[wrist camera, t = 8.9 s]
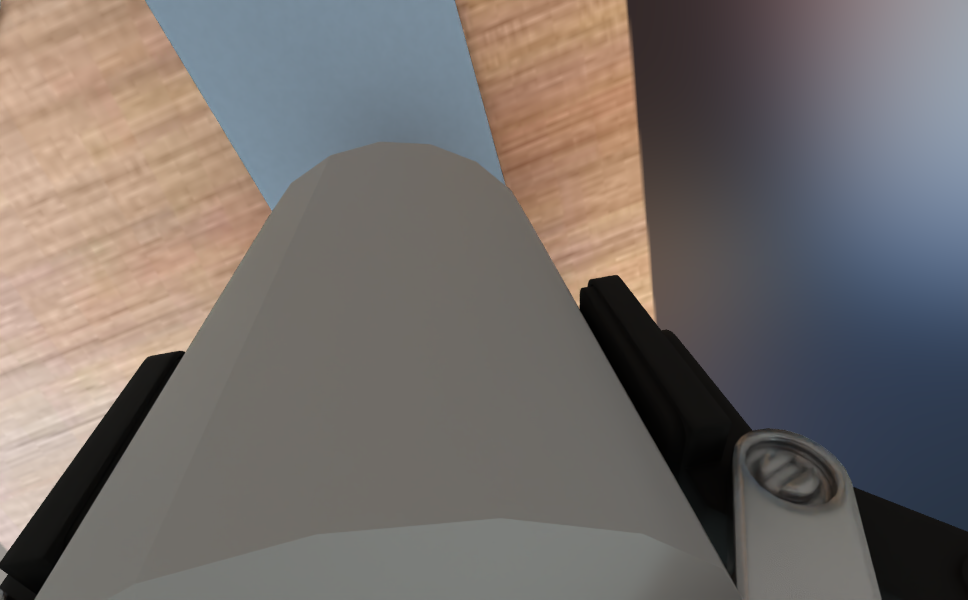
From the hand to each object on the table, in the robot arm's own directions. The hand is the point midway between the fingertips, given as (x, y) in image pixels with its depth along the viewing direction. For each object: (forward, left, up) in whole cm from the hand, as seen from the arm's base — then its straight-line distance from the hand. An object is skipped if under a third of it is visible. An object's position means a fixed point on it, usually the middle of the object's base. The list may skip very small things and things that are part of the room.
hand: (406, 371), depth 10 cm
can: (0, 0, -5) cm, 5 cm away
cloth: (-3, +2, -17) cm, 17 cm away
